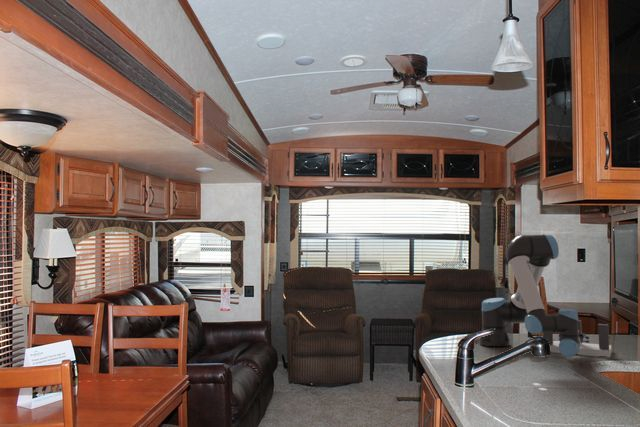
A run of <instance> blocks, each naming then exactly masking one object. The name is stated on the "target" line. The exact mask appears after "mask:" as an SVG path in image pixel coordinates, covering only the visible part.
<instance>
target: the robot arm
mask: <svg viewBox="0 0 640 427" xmlns="http://www.w3.org/2000/svg"><path fill="white" fill-rule="evenodd" d="M559 253H560V252H559V244H558V242H557V239H556V238H555V237H554V235H552V234H545V233H544V234H543V233H542V234H527V235H526V234H521V235H518V236H516V237H514V238H513V239H512V240H511V241H510V242H509V244H508V246H507V249H506V261H507V264H508V266H509V267H511V269H512V272H513V274H514V277H515V281H516V284H517V288H516V292H515V293H514V294H512V295H511V297H510V300H506V299H505V298H504V297H492V298H491V297H490V298H486V299H484V300H482V302H481V327H482V329H481V331H482V330H485V329H490V328H496V331H495V333H494V334H491V335H488V336H485V337H481V338H480V337H479V339H478V344H479V345H480V346H483V345H484V346H483V347H488V346H494V347H493V348H496V347H495V346H507V347H509V346H510V345H511V340H510V337H509V334H508V332H507V328H506V327H507V324H524V328H525V330H526V331H527V333H528V332H530V333H545V332H553V333H559V334H558V341H560V343H559V350H560V352H561V353H560V354H562V355H563V356H564V357H568V358H571V357H574V356H576V354H577V353H578V351H579V348H580V346H581V344H582V343H589V344H590V336H587V334H585V332H582V331H581V332H579V330H578V320H579V315H578V311H577V310H576V309H573V308H560V309H558V313H554V314H553V313H551V314H548V313H547V311H546V309H545V306H544V304H543V301H542V300H543V299H542V297H541V294H540V291H539V288H538V286H539V284H540V281H541V278H542V276H543V272H544V269H545V268H546V267H548V266H549V265H550V262H551V260H555V259H557V258H558V257H559ZM508 345H509V346H508Z"/></svg>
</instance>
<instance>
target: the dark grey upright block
mask: <svg viewBox="0 0 640 427" xmlns="http://www.w3.org/2000/svg"><path fill="white" fill-rule="evenodd" d="M578 330H579V332H581V333H582V320H581V319H578Z"/></svg>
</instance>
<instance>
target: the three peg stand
mask: <svg viewBox="0 0 640 427" xmlns="http://www.w3.org/2000/svg"><path fill="white" fill-rule="evenodd" d="M597 326H598V327H597V328H598V343H590V342H589V343H587V342H583V343H582V344H581V346H580V348H579V351H578V353H577V354H578V355H577V356H588V357H589V356H590V357H591V356H592V357H599V356H608V357H607V358H611V357H612V352H613V351H612V345H611V344H610V332H609V324H608V323H604V324H603V323H598V324H597ZM543 337H544V338H545V339H547V341H548V342H549V344H550V347H551V352H550V353H557V354H562V353H561V352H560V350H559V343H560V340H554V332H545V333H543ZM611 351H612V352H611ZM610 356H611V357H610Z"/></svg>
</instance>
